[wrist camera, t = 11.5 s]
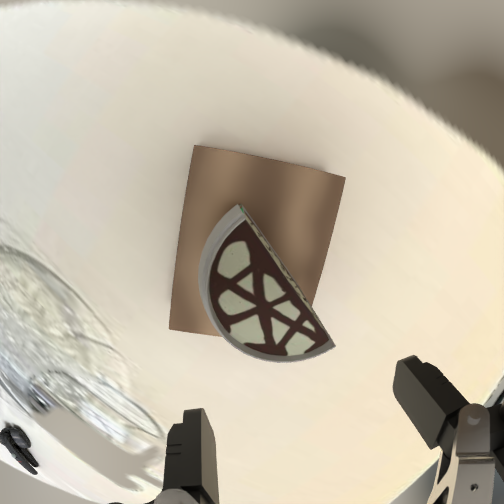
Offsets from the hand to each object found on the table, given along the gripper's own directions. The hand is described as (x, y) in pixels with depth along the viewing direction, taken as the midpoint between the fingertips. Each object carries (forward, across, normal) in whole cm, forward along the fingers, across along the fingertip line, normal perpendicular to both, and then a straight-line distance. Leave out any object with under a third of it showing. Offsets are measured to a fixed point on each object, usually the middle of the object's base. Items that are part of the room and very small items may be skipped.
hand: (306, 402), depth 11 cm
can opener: (+24, +57, +37) cm, 72 cm away
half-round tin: (+19, +1, +1) cm, 19 cm away
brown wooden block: (+24, 0, 0) cm, 24 cm away
